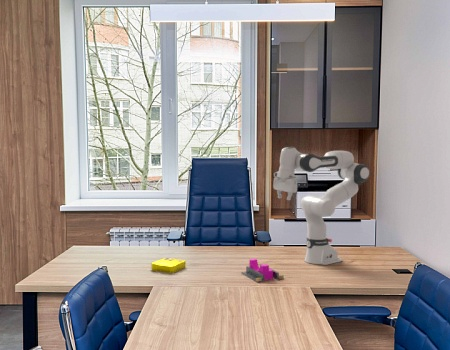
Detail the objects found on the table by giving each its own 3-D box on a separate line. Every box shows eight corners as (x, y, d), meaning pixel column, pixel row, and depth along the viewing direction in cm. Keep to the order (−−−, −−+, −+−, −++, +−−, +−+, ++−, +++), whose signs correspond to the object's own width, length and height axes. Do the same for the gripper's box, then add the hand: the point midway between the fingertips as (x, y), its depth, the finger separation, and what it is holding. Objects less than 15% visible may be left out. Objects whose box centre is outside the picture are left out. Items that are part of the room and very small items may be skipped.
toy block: (273, 278, 247) (273, 265, 246) (262, 280, 244) (262, 266, 244) (259, 271, 260) (259, 258, 260) (249, 272, 258) (249, 259, 257)
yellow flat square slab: (149, 270, 263) (149, 262, 263) (165, 264, 276) (165, 256, 276) (172, 274, 256) (172, 265, 256) (186, 267, 269) (186, 259, 269)
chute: (266, 269, 263) (266, 263, 263) (283, 278, 247) (283, 272, 246) (241, 273, 256) (241, 267, 256) (257, 282, 240) (257, 275, 240)
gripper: (301, 176, 259) (298, 201, 260) (281, 174, 278) (279, 197, 278) (291, 176, 257) (289, 201, 257) (272, 173, 275) (270, 196, 276)
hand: (284, 199), depth 268 cm, fingers open, 8 cm apart
